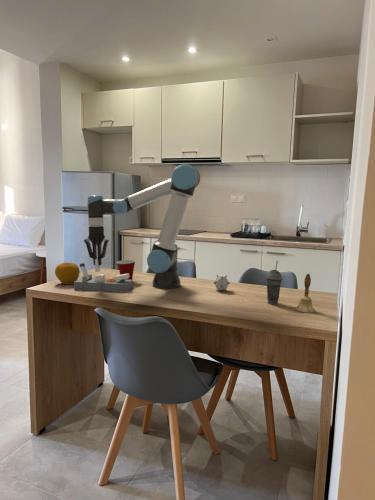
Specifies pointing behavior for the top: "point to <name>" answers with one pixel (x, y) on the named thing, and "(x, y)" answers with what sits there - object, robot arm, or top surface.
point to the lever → (84, 271)
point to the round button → (111, 279)
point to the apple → (67, 273)
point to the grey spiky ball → (221, 283)
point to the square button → (100, 278)
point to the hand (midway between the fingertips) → (97, 271)
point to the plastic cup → (126, 267)
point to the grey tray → (103, 285)
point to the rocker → (122, 276)
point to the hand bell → (306, 298)
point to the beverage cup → (273, 286)
